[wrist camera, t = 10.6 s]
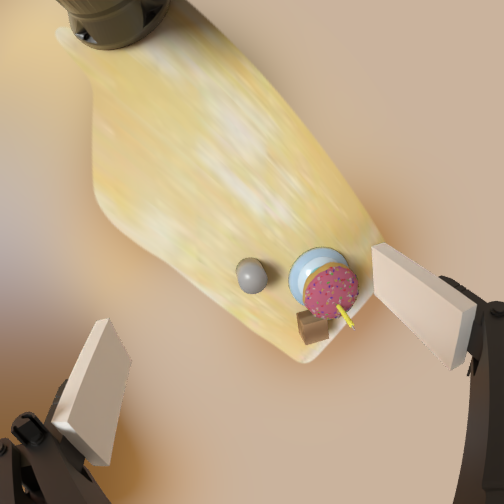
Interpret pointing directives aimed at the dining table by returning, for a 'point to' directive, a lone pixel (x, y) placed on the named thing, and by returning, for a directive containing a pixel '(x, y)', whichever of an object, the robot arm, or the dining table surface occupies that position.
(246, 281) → the grey cylinder
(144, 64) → the dining table surface
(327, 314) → the cupcake
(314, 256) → the saucer
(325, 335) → the walnut block
